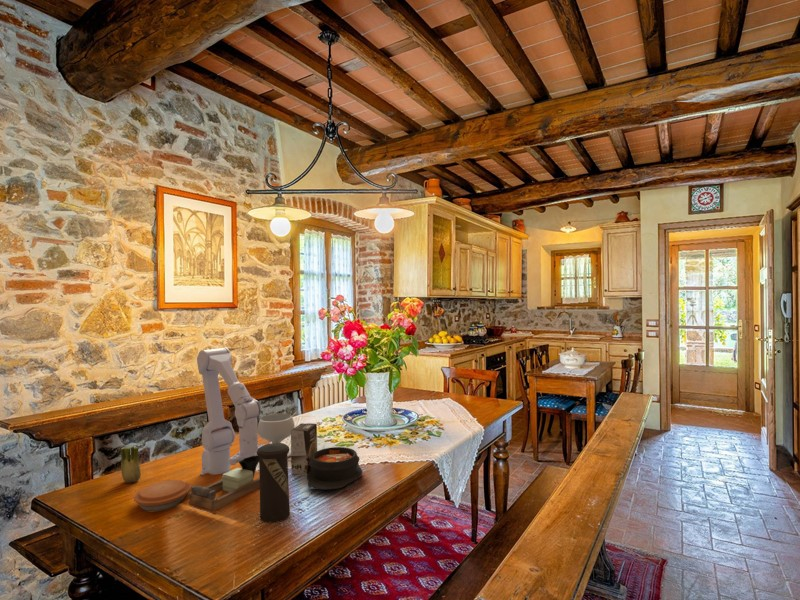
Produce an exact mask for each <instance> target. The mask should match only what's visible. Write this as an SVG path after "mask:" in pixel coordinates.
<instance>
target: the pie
mask: <svg viewBox="0 0 800 600" xmlns="http://www.w3.org/2000/svg"><path fill="white" fill-rule="evenodd" d="M191 487H192V484H190V483H189V482H187V481H183V480H181V479H166V480H162V481H158V482H154V483H151V484H148V485H147V486H145V487H143V488H141V489H140V490H138V491H137V492H136V493H135V494H134V496H133V501H134V502H135V503H137V504H138V505H139V508H141V509H142V510H143V511H145V512H149V511H156V512H162V511H161V510H163V511H166V510H165V509H167V510H170V509H173V508H175V507H177V506H179V505H180V504H182V501H183V500H184V499H185V498H186V497H187V494H189V493H190V492H191ZM178 504H179V505H178ZM176 505H177V506H176ZM174 506H175V507H174ZM172 507H173V508H172ZM169 508H170V509H169Z"/></svg>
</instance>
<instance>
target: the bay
mask: <svg viewBox="0 0 800 600" xmlns="http://www.w3.org/2000/svg"><path fill="white" fill-rule="evenodd" d="M222 485H223V479H222V478H221V479H220V480H218V481H216V482H213V483H211V484H209V485H206V486H202V485H197V484H195V485H192V486H191V489H190V491H189V492H188V500H189V501H188V502H189V507H191V506H192V508H194V509H198V510H200V511H203V512H206V513H210V514H213V515H216V513H215V511H216V510H218V509H220V508H223V507H224V506H226V505H229V504H230V503H232V502H234V501H235V500H238V499H240V498H241V497H244V496H245V495H248V494H249V493H252V492H253V491H256V490H257V489H260V477H258V478H256V479H253V481H252V482H250V483H248V484H246V485H244V486H242V487H239V488H237V489H235V490H233V491H231V492H227V493H225V494H224V495H222V496H219V497H218V498H217V497H216V493H217V492H219V491H221V490H223V487H222ZM190 504H192V505H190ZM193 505H196V506H193ZM197 506H199V507H197ZM200 507H201V508H200ZM203 508H204V509H203ZM207 509H209V510H212V511H214V512H212V511H209V510H207Z"/></svg>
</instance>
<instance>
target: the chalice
mask: <svg viewBox="0 0 800 600" xmlns="http://www.w3.org/2000/svg"><path fill="white" fill-rule="evenodd" d="M295 427H296V426H295V421H294V419H293V417H292V415H291V414H289V413H281V412H280V413H271V414H267V415H264V416H263V415H262V416H261V418H260V419H259V422H258V423H257V432H258V436H259V437H260V438H262V439H263V440H265V441H268V442H270V443H282V442H283V441H284V440H285V439H287V438H289V437H291V430H292V429H294V428H295ZM289 457H291V449H289V452H288V454H287V458H289Z"/></svg>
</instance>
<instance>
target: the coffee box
mask: <svg viewBox="0 0 800 600" xmlns="http://www.w3.org/2000/svg"><path fill="white" fill-rule="evenodd" d="M317 426H318V425H317V423H307V422H306V423H303V422H302V423H299V424H298V425H296V426H295V428H294V429H292V430H291V435H290V450H291V456H290V458H291V460H290V463H291V464H290V465H291V474H292V475H303V476H304V475H306V476H307V474H308V472H309V471H310V470H311V469H312V468H311V466H310V465H309V461H310V460H311V458H312V455H313V454H314V453H315V452H317V451H318V427H317Z"/></svg>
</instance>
